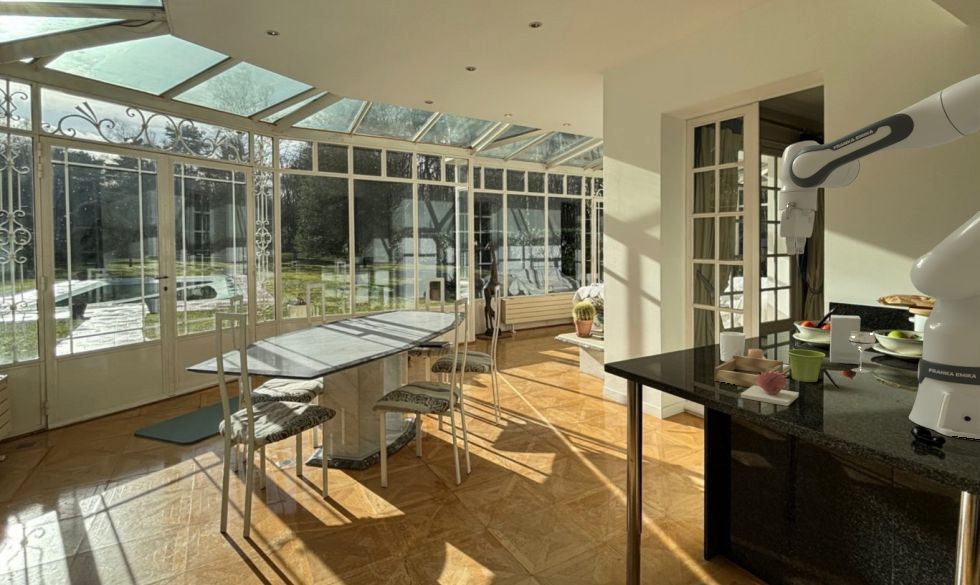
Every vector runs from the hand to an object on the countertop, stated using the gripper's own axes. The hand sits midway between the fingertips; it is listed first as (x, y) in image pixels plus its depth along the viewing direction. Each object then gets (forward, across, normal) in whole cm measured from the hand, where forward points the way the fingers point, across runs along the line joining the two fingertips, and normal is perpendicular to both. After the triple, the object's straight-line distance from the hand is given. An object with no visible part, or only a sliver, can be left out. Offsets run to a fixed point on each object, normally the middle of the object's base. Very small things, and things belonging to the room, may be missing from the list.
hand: (795, 254), depth 142 cm
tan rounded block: (+36, +17, +14) cm, 42 cm away
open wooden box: (+37, 0, +11) cm, 39 cm away
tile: (+37, -14, +1) cm, 40 cm away
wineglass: (+37, +34, -12) cm, 52 cm away
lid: (+37, +18, +11) cm, 42 cm away
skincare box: (+37, +45, -6) cm, 59 cm away
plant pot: (+37, +8, -2) cm, 38 cm away
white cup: (+37, +20, +22) cm, 48 cm away
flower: (+36, -14, +1) cm, 39 cm away
